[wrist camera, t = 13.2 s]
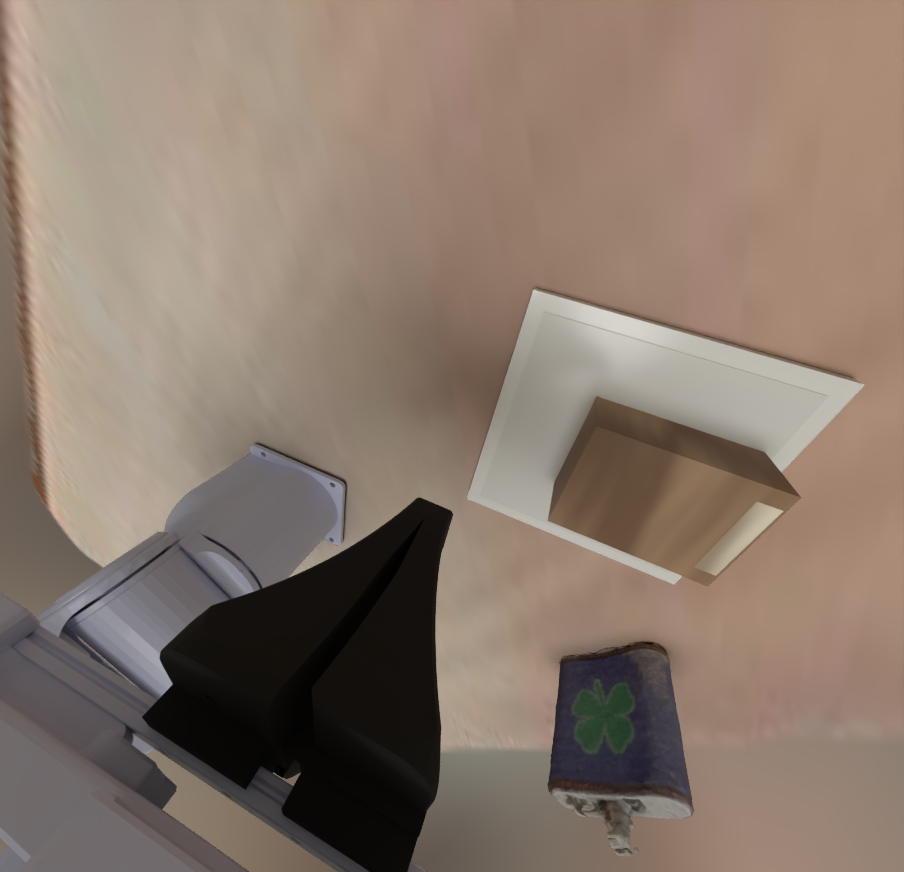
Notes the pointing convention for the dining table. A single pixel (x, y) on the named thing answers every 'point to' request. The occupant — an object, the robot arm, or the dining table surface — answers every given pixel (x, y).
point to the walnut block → (667, 491)
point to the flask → (619, 740)
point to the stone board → (635, 401)
